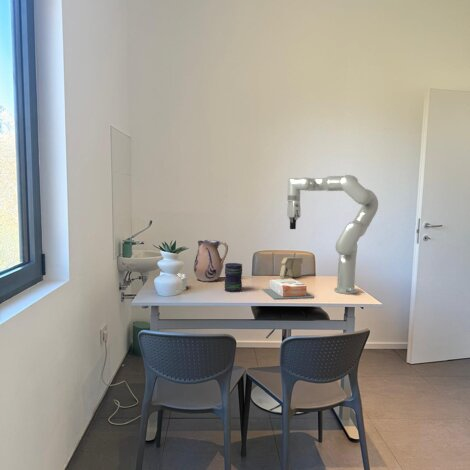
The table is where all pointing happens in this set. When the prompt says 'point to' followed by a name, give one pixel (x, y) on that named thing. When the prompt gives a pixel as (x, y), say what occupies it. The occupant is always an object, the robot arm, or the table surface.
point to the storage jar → (233, 277)
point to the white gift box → (182, 281)
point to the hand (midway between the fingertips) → (292, 229)
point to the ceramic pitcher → (209, 260)
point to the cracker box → (287, 287)
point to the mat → (277, 296)
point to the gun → (291, 267)
